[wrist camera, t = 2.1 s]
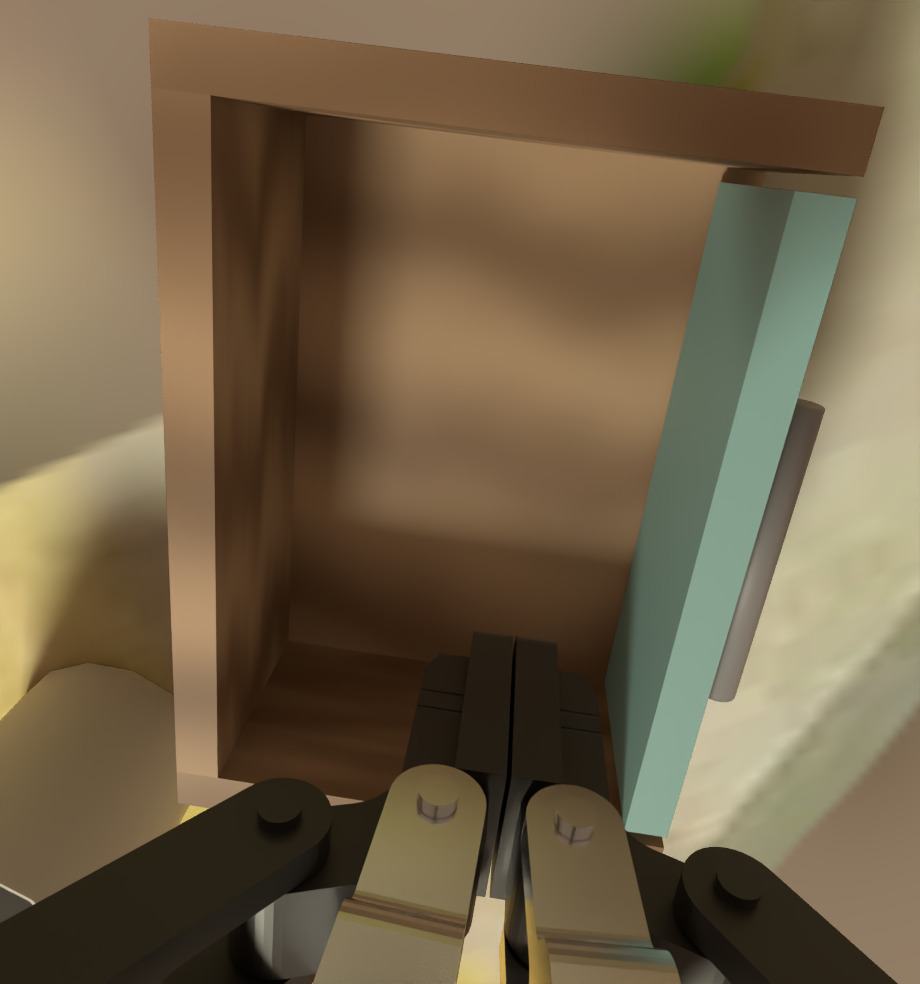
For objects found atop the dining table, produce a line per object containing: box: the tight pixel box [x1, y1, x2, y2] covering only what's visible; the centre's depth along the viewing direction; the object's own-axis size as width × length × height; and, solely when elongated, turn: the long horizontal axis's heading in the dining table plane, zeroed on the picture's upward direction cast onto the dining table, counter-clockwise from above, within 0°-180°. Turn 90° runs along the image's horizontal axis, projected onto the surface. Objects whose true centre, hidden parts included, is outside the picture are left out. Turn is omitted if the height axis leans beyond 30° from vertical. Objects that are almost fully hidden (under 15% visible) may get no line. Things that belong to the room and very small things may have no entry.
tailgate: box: [605, 182, 857, 838], centre depth 22 cm, size 17×2×7 cm, turn 173°
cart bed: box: [149, 18, 884, 853], centre depth 23 cm, size 20×14×9 cm
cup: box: [0, 663, 189, 923], centre depth 30 cm, size 8×8×10 cm
